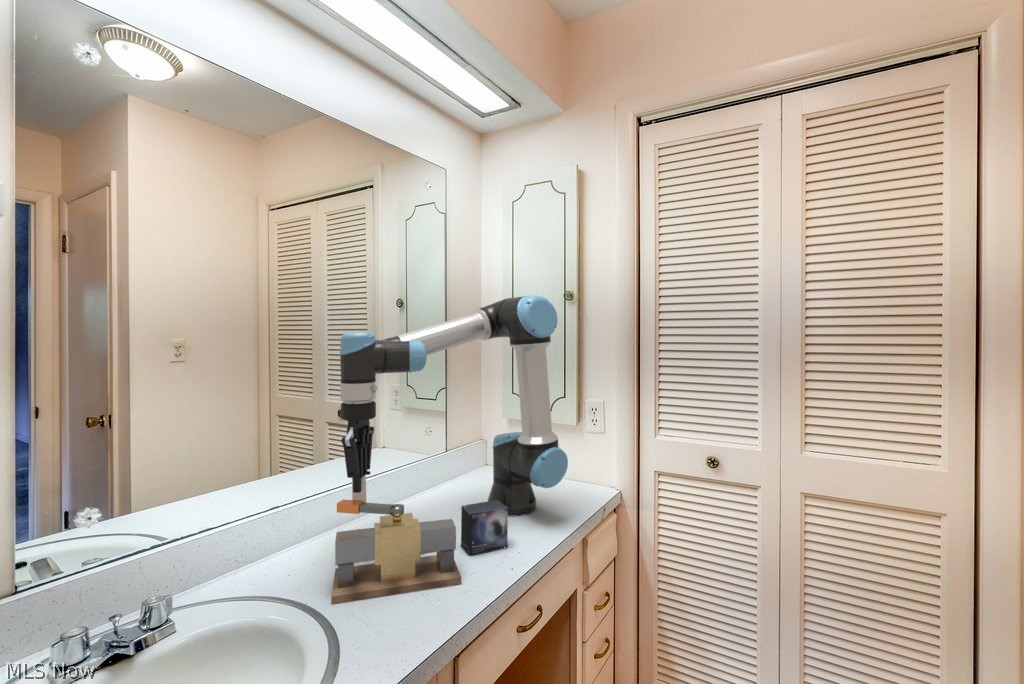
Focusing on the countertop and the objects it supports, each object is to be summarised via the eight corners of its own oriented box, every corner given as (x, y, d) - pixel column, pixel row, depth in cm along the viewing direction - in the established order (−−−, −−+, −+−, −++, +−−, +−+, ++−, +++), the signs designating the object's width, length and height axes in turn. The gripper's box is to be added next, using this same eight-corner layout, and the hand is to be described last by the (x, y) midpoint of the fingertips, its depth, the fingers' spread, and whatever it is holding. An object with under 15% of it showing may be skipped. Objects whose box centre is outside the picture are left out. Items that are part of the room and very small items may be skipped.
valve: (451, 557, 110) (451, 503, 110) (456, 571, 104) (456, 514, 104) (337, 573, 103) (336, 515, 103) (335, 589, 96) (334, 528, 96)
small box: (469, 557, 114) (469, 513, 114) (459, 546, 120) (459, 505, 120) (508, 548, 119) (508, 506, 119) (497, 538, 125) (497, 498, 125)
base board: (451, 559, 113) (451, 552, 113) (461, 584, 101) (461, 577, 101) (335, 575, 105) (335, 568, 105) (331, 604, 94) (331, 596, 94)
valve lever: (406, 512, 104) (406, 503, 104) (400, 517, 101) (400, 508, 101) (343, 507, 107) (343, 499, 107) (336, 512, 104) (336, 503, 104)
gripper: (363, 405, 100) (364, 516, 100) (384, 397, 113) (385, 495, 113) (329, 405, 101) (330, 515, 101) (354, 397, 113) (354, 494, 114)
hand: (359, 504), depth 107 cm, fingers closed
